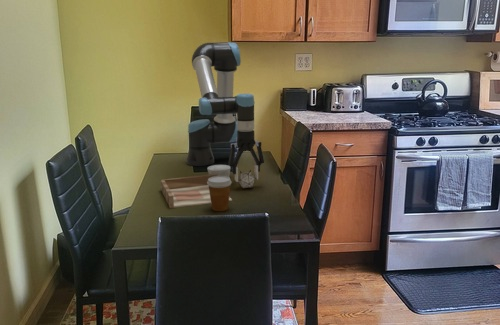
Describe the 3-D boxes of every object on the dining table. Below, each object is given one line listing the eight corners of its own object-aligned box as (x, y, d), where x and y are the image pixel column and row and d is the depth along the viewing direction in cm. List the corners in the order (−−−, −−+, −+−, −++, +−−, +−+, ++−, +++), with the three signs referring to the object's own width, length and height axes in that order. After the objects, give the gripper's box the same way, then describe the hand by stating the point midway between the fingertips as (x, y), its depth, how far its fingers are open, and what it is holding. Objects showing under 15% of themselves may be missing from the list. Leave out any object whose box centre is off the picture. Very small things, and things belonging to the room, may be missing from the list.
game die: (249, 197, 202) (253, 183, 195) (232, 189, 203) (235, 176, 196) (256, 183, 208) (260, 169, 201) (239, 176, 209) (243, 162, 201)
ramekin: (203, 177, 221) (202, 167, 219) (221, 173, 228) (221, 163, 226) (216, 182, 212) (216, 171, 211) (235, 178, 219) (235, 167, 218)
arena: (161, 190, 201) (160, 179, 200) (216, 184, 209) (216, 174, 208) (170, 208, 179) (169, 196, 177) (232, 200, 187) (231, 189, 185)
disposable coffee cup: (203, 209, 177) (201, 180, 174) (218, 202, 184) (217, 174, 181) (222, 214, 172) (221, 184, 169) (237, 207, 179) (236, 177, 176)
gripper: (224, 133, 190) (225, 184, 195) (271, 129, 196) (271, 179, 202) (219, 130, 196) (221, 180, 202) (265, 126, 203) (265, 175, 209)
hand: (246, 179), depth 202 cm, fingers open, 9 cm apart
